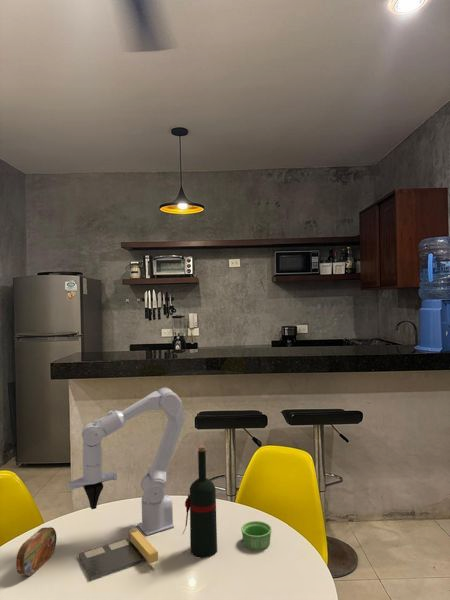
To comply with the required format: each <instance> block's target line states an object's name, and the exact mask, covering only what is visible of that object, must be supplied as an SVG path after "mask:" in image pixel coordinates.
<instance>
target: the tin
mask: <svg viewBox="0 0 450 600" xmlns="http://www.w3.org/2000/svg"><path fill="white" fill-rule="evenodd" d="M57 540H58V539H57V532H56V529H55V528H54V527H52V526H49V527H42V528H40V529H38V530H37V531H36V532H34V534H32V535H31V536H30V537H29V538H28V539H26V540H25V541H24V542H23V543H22V544H21V546H20V547H19V549H18V551H17V553H16V558H15V559H16V560H15V561H16V562H15V564H16V571H17V573H18V574H19V575H20V576H28V577H30V576H33V575H34V574H35V573H36V572H37V571H38V570H40V568H41V567H42V566H43V565H44V564H45V563H46V562H47V561H48V560H49V559H50V558H51V557H52V556H53V554H54V553H55V549H56V546H57Z"/></svg>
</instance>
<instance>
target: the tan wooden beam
mask: <svg viewBox="0 0 450 600" xmlns="http://www.w3.org/2000/svg"><path fill="white" fill-rule="evenodd" d="M127 536H128V537H127V538H128V539H129V540H130V541H131V542H132V543H133V544H134V545H135V547H136V548H137V549H138V550H139V551H140V553H141V554H142V555H143V556H144V557H145V558H146V560H147V561H146V562H148V563H149V564H150V565H151V564H152V563H153V564H154V563H156V562H159V551H158V550H157V549H156V548H155V546H153V545H152V544H151V542H149V541H148V539H147V538H146V537H145V536H144V535H143V534H142V533H141V532H140V530H139V529H138V528H137V527H131V528H129V529H128V535H127Z"/></svg>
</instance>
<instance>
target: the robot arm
mask: <svg viewBox="0 0 450 600" xmlns="http://www.w3.org/2000/svg"><path fill="white" fill-rule="evenodd" d="M160 409H162V410H163V411H164V414H165V415H166V417H167V419H168V420H167V422H166V424H165V428H164V431H163V434H162V437H161V440H160V442H159V445H158V447H157V451H156V453H155V456H154V459H153V461H152V465H150V467H149V468H148V470H147V473H146V474H145V475H144V477H142V479H141V481H140V487H141V489H142V492H143V495H142V496H141V522H138V523H137V526H138V527H139V529H140V530H141V531H142V532H143V533H144V534H145V535H146V536H149V535H153V534H155V533H159V532H162V531H165V530H169V529H171V528H174V527H175V525H174V520H173V519H174V518H173V517H174V515H173V513H174V511H173V502H172V499H171V497H170V496H169V495H168V494H166V483H167V472H168V468H169V466H170V464H171V460H172V457H173V454H174V452H175V449H176V446H177V443H178V441H179V436H181V432H182V428H183V425H184V423H185V418H186V417H185V414H184V408H183V401H182V400H181V398H180V397H179V395H178V394H177V393H175V392H174V391H173V389H171V388H169V387H161V388H159V389H158V390H155V391H152V392H151V393H149V394H147V395H146V396H145V397H143V398H142V399H140V400H138V401H136V402H135V403H133V404H131V405H129V406H128V407H127V408H124V409H123V410H121V411H120V410H116V409H115V410H110V411H108V412H107V414H106V415H105V416H103V417H101V418H99V419H97V418H96V419H94V420H93V422H88V423H87V424H85V425H84V427H83V428H82V431H81V437H82V441H83V442H82V477H79V478H77V479H74V480H72V481H68V482H67V490H68V491H69V492H70V491H73V490H75V489H79V488H83V490H84V491H85V493H86V496H87V499H88V502H89V503H88V504H89V507H90V509H91V510H95V509H97V508H98V506H97V505H98V503H99V502H98V501H99V498H100V495H101V493H102V491H103V489H104V484H103V483H104V482H108V481H117V480H118V478H117V477H118V474H117V472H116V471H113V472H112V471H111V472H103V447H102V441H103V438H107V437H108V436H110V435H111V434H113V433H115V432H117V431H119V430H120V429H122V428H124V426H125V425H126V423H127V421H129V420H131V419H132V418H135V417H137V416H139V415H141V414H142V413H145V412H147V411H149V410H151V411H152V410H154V411H160Z"/></svg>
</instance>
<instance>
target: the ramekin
mask: <svg viewBox="0 0 450 600" xmlns="http://www.w3.org/2000/svg"><path fill="white" fill-rule="evenodd" d="M240 531H241V533H242V542H243V545H244V546H245V547H246V548H247V549H250V550H254V551H259V550H264V549H266V548H268V547H269V546H270V544H271V537H272V536H271V535H272V534H271V533H272V526H271V525H270V524H268V523H267V522H264V521H260V520H250V521H248V522H244V524H242V526H241V528H240Z"/></svg>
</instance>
